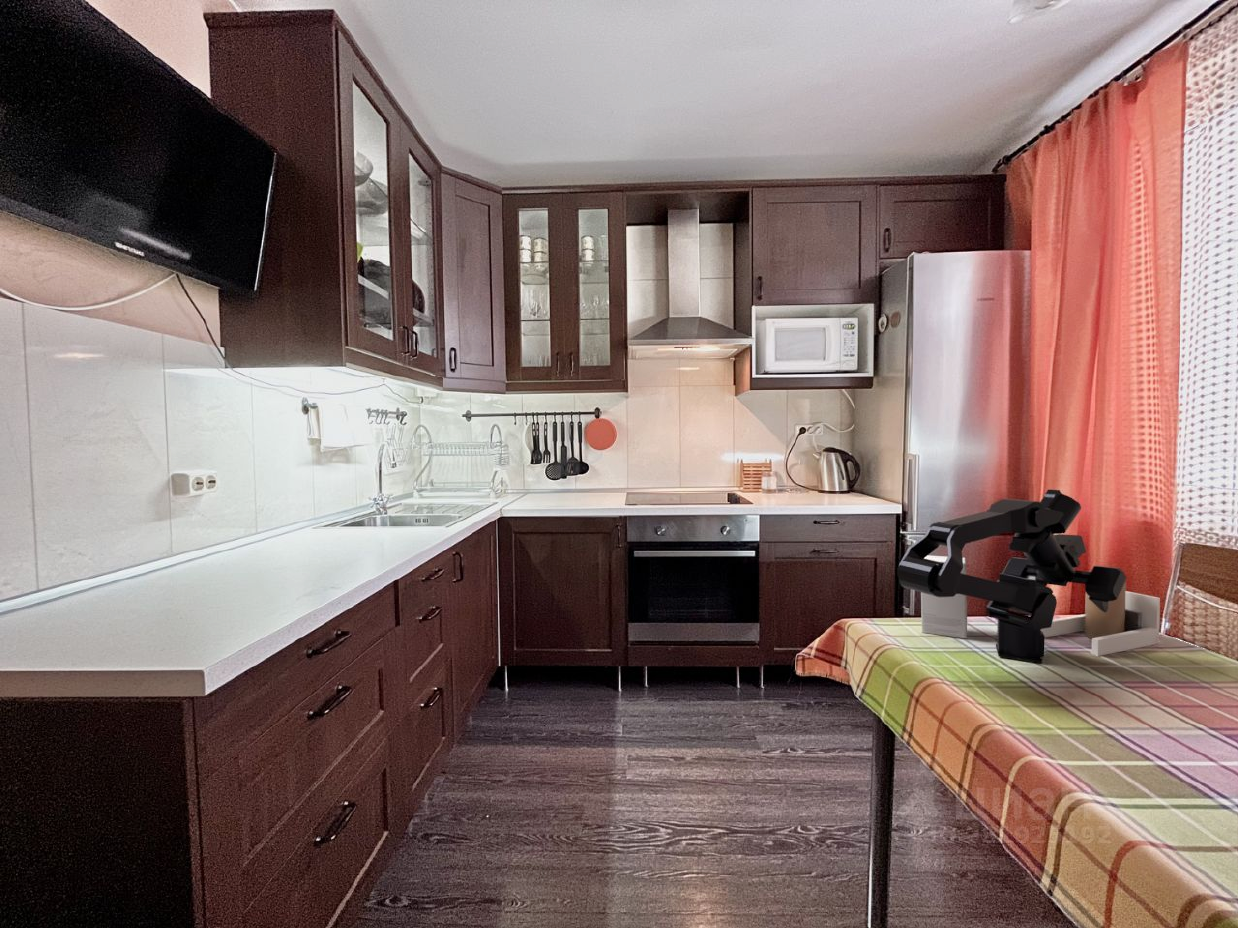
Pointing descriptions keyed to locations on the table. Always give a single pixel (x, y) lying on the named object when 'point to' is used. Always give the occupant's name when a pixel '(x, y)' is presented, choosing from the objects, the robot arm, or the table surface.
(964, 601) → the skincare box
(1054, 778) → the table surface
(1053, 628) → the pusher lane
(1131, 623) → the pusher paddle
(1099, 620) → the jar
